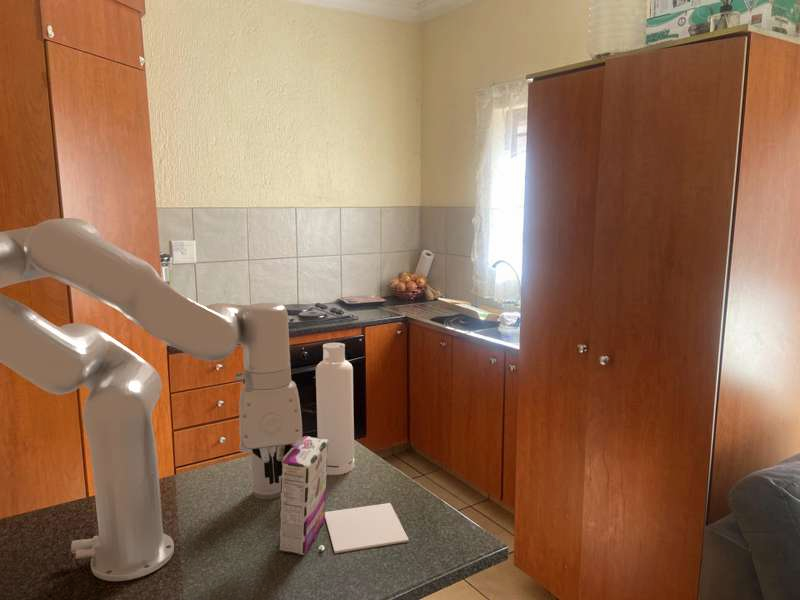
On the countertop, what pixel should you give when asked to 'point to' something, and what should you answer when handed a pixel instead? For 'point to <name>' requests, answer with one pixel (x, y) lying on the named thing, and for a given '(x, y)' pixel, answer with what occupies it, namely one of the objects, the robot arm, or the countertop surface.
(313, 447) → the candy bar box
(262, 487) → the travel mug
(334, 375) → the bottle
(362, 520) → the mat
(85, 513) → the countertop surface
